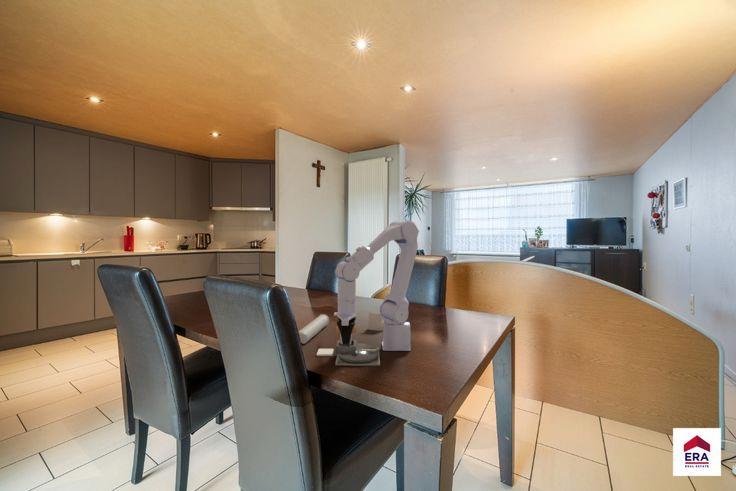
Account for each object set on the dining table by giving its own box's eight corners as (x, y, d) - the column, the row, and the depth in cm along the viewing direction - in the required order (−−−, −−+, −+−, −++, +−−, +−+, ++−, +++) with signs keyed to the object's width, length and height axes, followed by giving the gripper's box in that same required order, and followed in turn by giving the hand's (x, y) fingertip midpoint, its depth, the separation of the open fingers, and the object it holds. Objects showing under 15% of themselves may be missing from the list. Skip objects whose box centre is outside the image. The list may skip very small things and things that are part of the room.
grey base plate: (378, 347, 108) (378, 336, 107) (379, 363, 95) (379, 350, 94) (338, 347, 107) (338, 336, 107) (334, 362, 94) (334, 350, 94)
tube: (308, 335, 111) (330, 316, 135) (295, 329, 112) (319, 312, 136) (304, 349, 111) (327, 328, 136) (290, 343, 112) (316, 323, 137)
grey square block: (370, 328, 134) (370, 311, 133) (386, 329, 132) (386, 312, 132) (368, 330, 130) (368, 313, 130) (384, 332, 129) (384, 314, 129)
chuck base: (378, 349, 108) (378, 348, 108) (380, 365, 94) (380, 364, 94) (339, 349, 108) (339, 347, 108) (335, 365, 94) (335, 363, 94)
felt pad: (333, 350, 107) (333, 348, 106) (332, 356, 102) (332, 354, 101) (318, 350, 107) (318, 348, 106) (316, 356, 102) (316, 354, 101)
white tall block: (356, 348, 103) (356, 325, 102) (355, 352, 99) (355, 328, 99) (336, 348, 103) (336, 325, 102) (335, 352, 99) (335, 328, 99)
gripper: (336, 295, 108) (336, 334, 108) (331, 304, 93) (331, 349, 94) (357, 295, 108) (356, 334, 108) (355, 304, 93) (355, 349, 94)
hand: (346, 341), depth 101 cm, fingers closed on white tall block, 3 cm apart
